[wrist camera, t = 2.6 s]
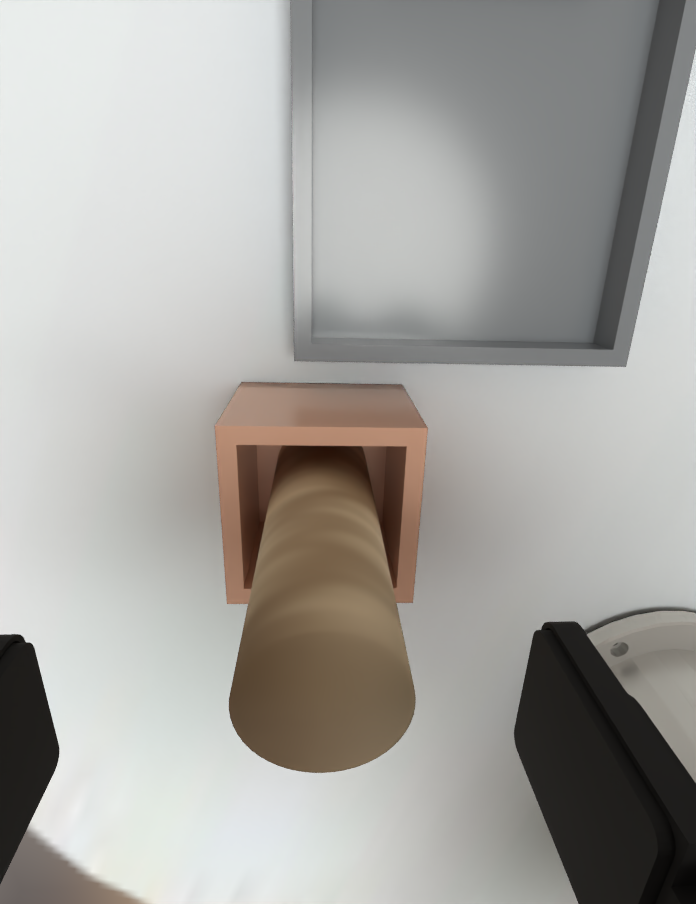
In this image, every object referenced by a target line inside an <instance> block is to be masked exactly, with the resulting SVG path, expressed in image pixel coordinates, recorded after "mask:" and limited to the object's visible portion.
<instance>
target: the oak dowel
mask: <svg viewBox="0 0 696 904" xmlns="http://www.w3.org/2000/svg"><path fill="white" fill-rule="evenodd" d="M414 710H415V690H414V685H413V680H412V675H411V671H410V666H409V661H408V656H407V652H406V647H405V642H404V637H403V633H402V628H401V623H400V619H399V614H398V609H397V604H396V600H395V595H394V590H393V585H392V581H391V576H390V571H389V567H388V562H387V557H386V552H385V548H384V543H383V538H382V533H381V529H380V524H379V519H378V515H377V510H376V505H375V500H374V496H373V491H372V486H371V481H370V477H369V472H368V467H367V462H366V458H365V454H364V451H363V448H362V446H304V445H282V447H281V449H280V452H279V455H278V460H277V464H276V469H275V474H274V479H273V484H272V489H271V494H270V499H269V504H268V509H267V514H266V519H265V524H264V529H263V534H262V539H261V544H260V549H259V553H258V558H257V563H256V568H255V573H254V578H253V583H252V588H251V593H250V598H249V603H248V608H247V613H246V618H245V623H244V628H243V633H242V638H241V642H240V647H239V652H238V657H237V662H236V667H235V672H234V677H233V682H232V687H231V692H230V697H229V712H230V718H231V721H232V724H233V727H234V728H235V730H236V732H237V734H238V736H239V737H240V738H241V740H242V741H243V742H244V743H245V744H246V745H247V746H248V747H249V748H250V749H251V750H252V751H253V752H255V753H256V754H257V755H259V756H260V757H262V758H264V759H265V760H267V761H269V762H271V763H274V764H276V765H278V766H281V767H284V768H287V769H292V770H296V771H302V772H312V773H325V772H336V771H342V770H347V769H351V768H354V767H357V766H360V765H363V764H366V763H368V762H370V761H372V760H374V759H376V758H378V757H379V756H381V755H382V754H384V753H385V752H387V751H388V750H389V749H390V748H392V747H393V746H394V745H395V744H396V743H397V742H398V741H399V740H400V739H401V737H402V736H403V735H404V733H405V732H406V730H407V728H408V727H409V725H410V723H411V720H412V717H413V715H414Z"/></svg>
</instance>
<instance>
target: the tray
mask: <svg viewBox="0 0 696 904" xmlns="http://www.w3.org/2000/svg"><path fill="white" fill-rule="evenodd" d="M695 49H696V0H291V91H292V186H293V281H294V361H324V362H382V363H439V364H497V365H555V366H612V367H626V364H627V360H628V355H629V351H630V346H631V341H632V337H633V332H634V328H635V323H636V319H637V314H638V310H639V305H640V300H641V296H642V291H643V287H644V282H645V278H646V273H647V268H648V264H649V259H650V255H651V250H652V246H653V241H654V237H655V232H656V227H657V223H658V218H659V214H660V209H661V205H662V200H663V195H664V191H665V186H666V182H667V177H668V173H669V168H670V163H671V159H672V154H673V150H674V145H675V141H676V136H677V132H678V127H679V122H680V118H681V113H682V109H683V104H684V100H685V95H686V90H687V86H688V81H689V77H690V72H691V68H692V63H693V59H694V54H695Z"/></svg>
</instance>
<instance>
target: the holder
mask: <svg viewBox="0 0 696 904" xmlns="http://www.w3.org/2000/svg"><path fill="white" fill-rule="evenodd" d="M427 431H428V428H427V426H426V424H425V423H424V421H423V419H422V417H421V416H420V414H419V412H418V411H417V409H416V407H415V406H414V404H413V402H412V400H411V399H410V397H409V395H408V394H407V392H406V390H405V388H404V387H403V385H394V384H328V383H263V382H241V384H240V386H239V387H238V389H237V390H236V392H235V394H234V395H233V397H232V399H231V400H230V402H229V404H228V405H227V407H226V408H225V410H224V412H223V413H222V415H221V417H220V418H219V420H218V421H217V423H216V425H215V435H216V450H217V465H218V479H219V494H220V508H221V523H222V538H223V552H224V567H225V582H226V596H227V604H248V603H249V598H250V593H251V588H252V583H253V578H254V573H255V568H256V563H257V558H258V553H259V549H260V544H261V539H262V534H263V529H264V524H265V519H266V514H267V509H268V504H269V499H270V494H271V489H272V484H273V479H274V474H275V469H276V464H277V460H278V455H279V452H280V449H281V447H282V445H304V446H362V448H363V451H364V454H365V458H366V462H367V467H368V472H369V477H370V481H371V486H372V491H373V496H374V500H375V505H376V510H377V515H378V519H379V524H380V529H381V533H382V538H383V543H384V548H385V552H386V557H387V562H388V567H389V571H390V576H391V581H392V585H393V590H394V595H395V600H396V603H413V595H414V583H415V572H416V560H417V548H418V536H419V525H420V513H421V501H422V490H423V478H424V466H425V455H426V443H427Z"/></svg>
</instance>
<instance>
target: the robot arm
mask: <svg viewBox="0 0 696 904" xmlns="http://www.w3.org/2000/svg"><path fill="white" fill-rule="evenodd" d="M514 738H515V744H516V748H517V751H518V754H519V756H520V759H521V761H522V764H523V766H524V769H525V771H526V774H527V776H528V779H529V781H530V784H531V786H532V789H533V791H534V794H535V796H536V799H537V801H538V804H539V806H540V809H541V811H542V814H543V816H544V819H545V821H546V824H547V826H548V828H549V831H550V833H551V836H552V838H553V841H554V843H555V846H556V848H557V851H558V853H559V856H560V858H561V861H562V863H563V866H564V868H565V871H566V873H567V876H568V878H569V881H570V883H571V886H572V888H573V891H574V893H575V896H576V898H577V901H578V903H579V904H696V613H693V612H687V611H657V612H651V613H644V614H638V615H633V616H630V617H627V618H624V619H621V620H618V621H614V622H611V623H609V624H607V625H605V626H603V627H600V628H598V629H596V630H594V631H592V632H590V633H588V634H586V633H585V632H584V630H583V629H582V627H581V626H580V625H579V624H578V623H576V622H546V623H544V625H543V626H542V629H541V630H536V631H535V632H534V635H533V640H532V645H531V650H530V655H529V659H528V664H527V669H526V674H525V679H524V684H523V689H522V694H521V699H520V704H519V709H518V714H517V719H516V724H515V729H514ZM58 758H59V745H58V741H57V737H56V733H55V729H54V725H53V721H52V717H51V713H50V709H49V705H48V701H47V697H46V693H45V689H44V685H43V681H42V677H41V673H40V669H39V665H38V661H37V657H36V653H35V649H34V647H33V645H32V644H31V643H26V642H25V640H24V638H23V637H22V636H21V635H18V634H12V635H0V884H1V882H2V879H3V877H4V875H5V873H6V871H7V869H8V867H9V865H10V863H11V861H12V859H13V857H14V855H15V852H16V850H17V848H18V846H19V844H20V842H21V840H22V838H23V836H24V834H25V832H26V830H27V827H28V825H29V823H30V821H31V819H32V817H33V815H34V813H35V811H36V809H37V807H38V805H39V803H40V800H41V798H42V796H43V794H44V792H45V790H46V788H47V786H48V784H49V782H50V780H51V778H52V776H53V773H54V771H55V769H56V766H57V763H58Z"/></svg>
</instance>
